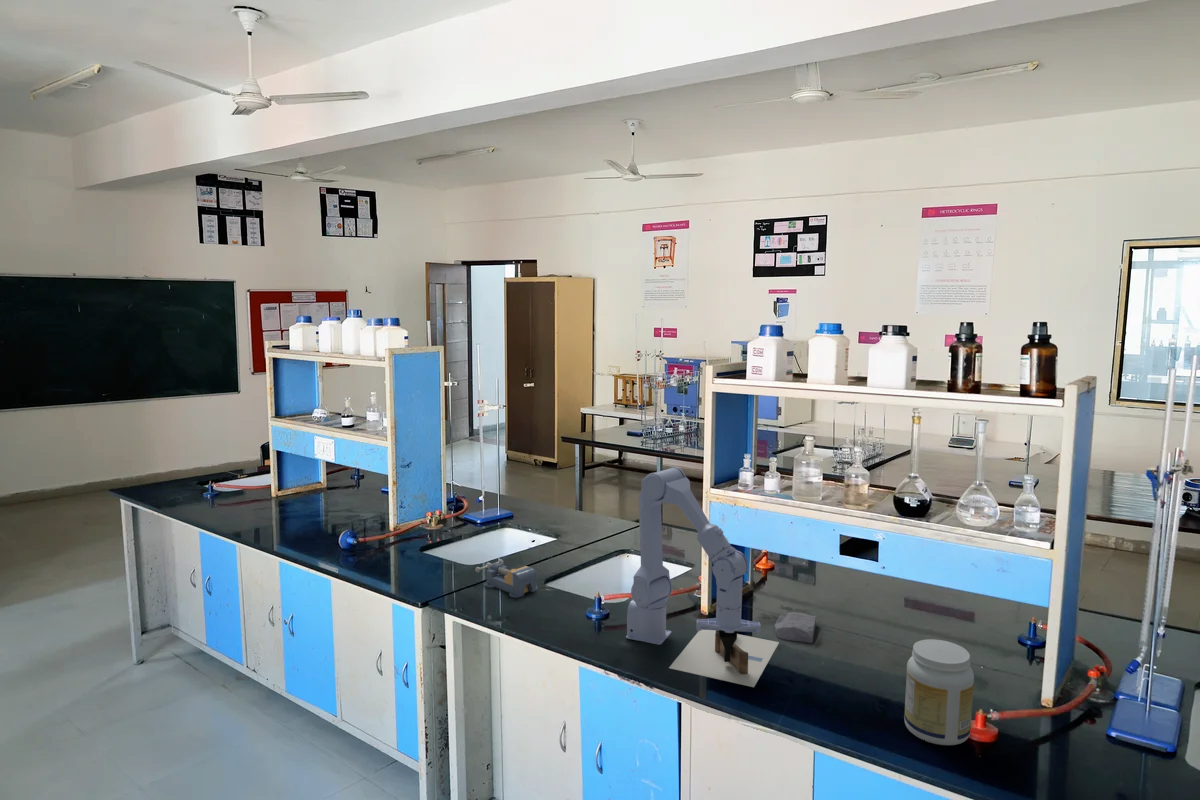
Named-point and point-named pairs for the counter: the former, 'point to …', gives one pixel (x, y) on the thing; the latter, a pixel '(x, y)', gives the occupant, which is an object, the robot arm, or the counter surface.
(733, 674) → the board
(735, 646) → the swing rail
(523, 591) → the vise
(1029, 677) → the counter surface
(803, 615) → the stone block
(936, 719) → the supplement tub
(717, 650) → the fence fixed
